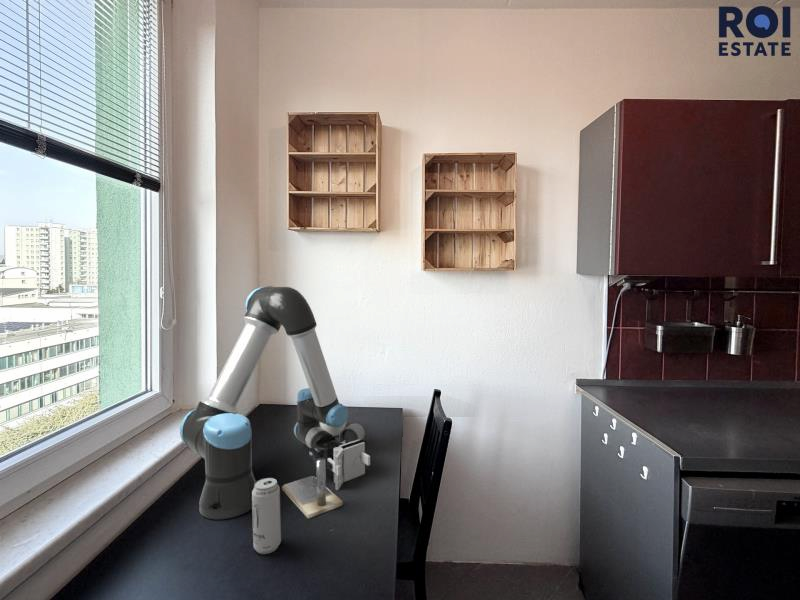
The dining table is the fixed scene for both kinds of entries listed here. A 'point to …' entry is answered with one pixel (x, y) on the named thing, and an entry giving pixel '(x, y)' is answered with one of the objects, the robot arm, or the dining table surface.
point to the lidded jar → (332, 429)
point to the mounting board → (312, 507)
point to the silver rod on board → (311, 486)
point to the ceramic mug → (352, 433)
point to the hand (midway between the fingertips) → (354, 465)
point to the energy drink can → (266, 516)
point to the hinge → (349, 461)
